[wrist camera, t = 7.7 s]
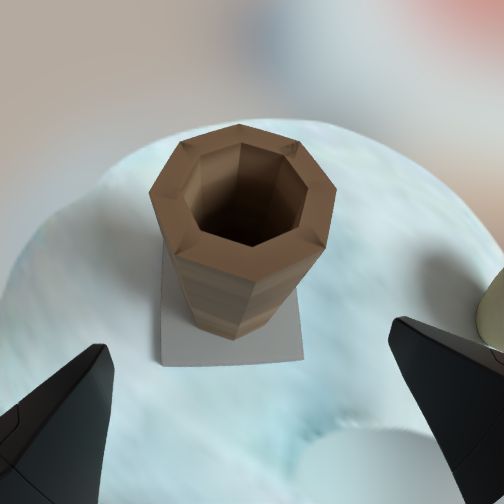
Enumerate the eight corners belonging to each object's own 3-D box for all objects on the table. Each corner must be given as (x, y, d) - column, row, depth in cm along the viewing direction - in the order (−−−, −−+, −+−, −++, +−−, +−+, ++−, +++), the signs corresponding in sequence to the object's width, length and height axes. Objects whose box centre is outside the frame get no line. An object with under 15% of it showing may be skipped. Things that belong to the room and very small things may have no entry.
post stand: (301, 360, 21) (325, 353, 16) (163, 366, 20) (146, 362, 15) (287, 238, 25) (303, 203, 20) (165, 240, 24) (154, 204, 19)
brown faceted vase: (285, 314, 22) (365, 228, 10) (210, 351, 20) (199, 308, 8) (247, 246, 23) (276, 114, 12) (175, 277, 22) (135, 157, 10)
